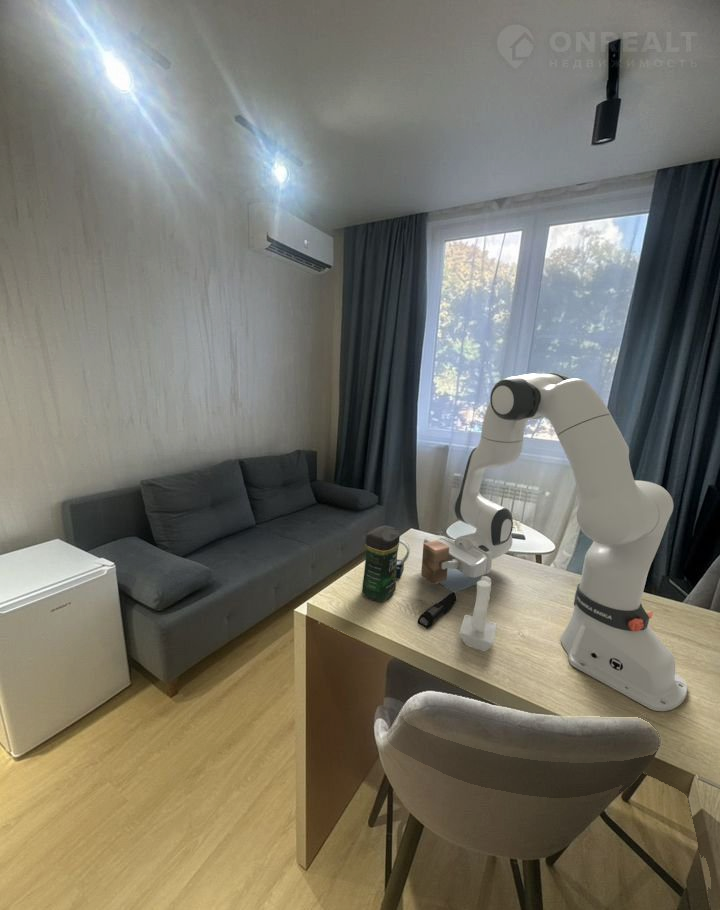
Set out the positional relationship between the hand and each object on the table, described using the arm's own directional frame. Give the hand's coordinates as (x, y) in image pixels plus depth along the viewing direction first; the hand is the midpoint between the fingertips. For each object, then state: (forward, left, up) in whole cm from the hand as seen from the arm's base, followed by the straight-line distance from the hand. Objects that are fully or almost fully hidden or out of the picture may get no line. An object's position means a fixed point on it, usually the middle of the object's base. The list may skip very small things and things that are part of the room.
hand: (432, 560), depth 104 cm
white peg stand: (-22, +5, -9) cm, 24 cm away
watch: (+11, +4, -9) cm, 15 cm away
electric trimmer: (-9, +6, -9) cm, 14 cm away
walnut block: (0, -1, -6) cm, 6 cm away
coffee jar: (+5, +14, -9) cm, 17 cm away
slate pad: (+1, -11, -9) cm, 14 cm away
